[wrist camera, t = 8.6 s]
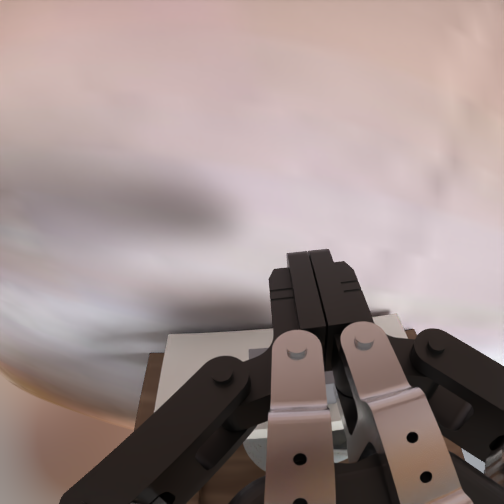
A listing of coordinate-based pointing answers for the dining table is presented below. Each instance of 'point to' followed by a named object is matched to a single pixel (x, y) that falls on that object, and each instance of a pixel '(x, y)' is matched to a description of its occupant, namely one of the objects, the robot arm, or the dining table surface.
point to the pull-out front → (244, 348)
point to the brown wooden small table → (239, 464)
